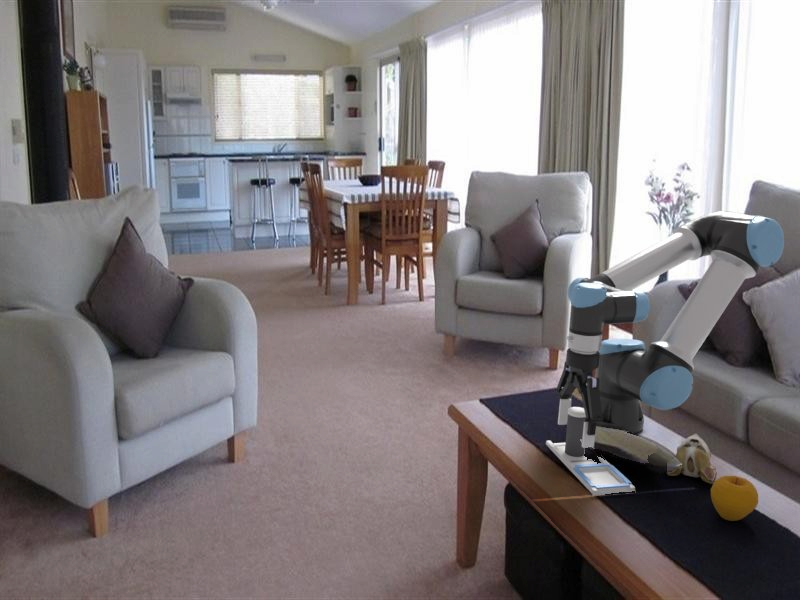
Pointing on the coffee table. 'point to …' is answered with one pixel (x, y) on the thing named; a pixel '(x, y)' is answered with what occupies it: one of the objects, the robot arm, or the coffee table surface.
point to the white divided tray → (593, 472)
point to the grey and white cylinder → (575, 432)
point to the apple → (734, 497)
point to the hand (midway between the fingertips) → (575, 435)
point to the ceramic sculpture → (695, 460)
